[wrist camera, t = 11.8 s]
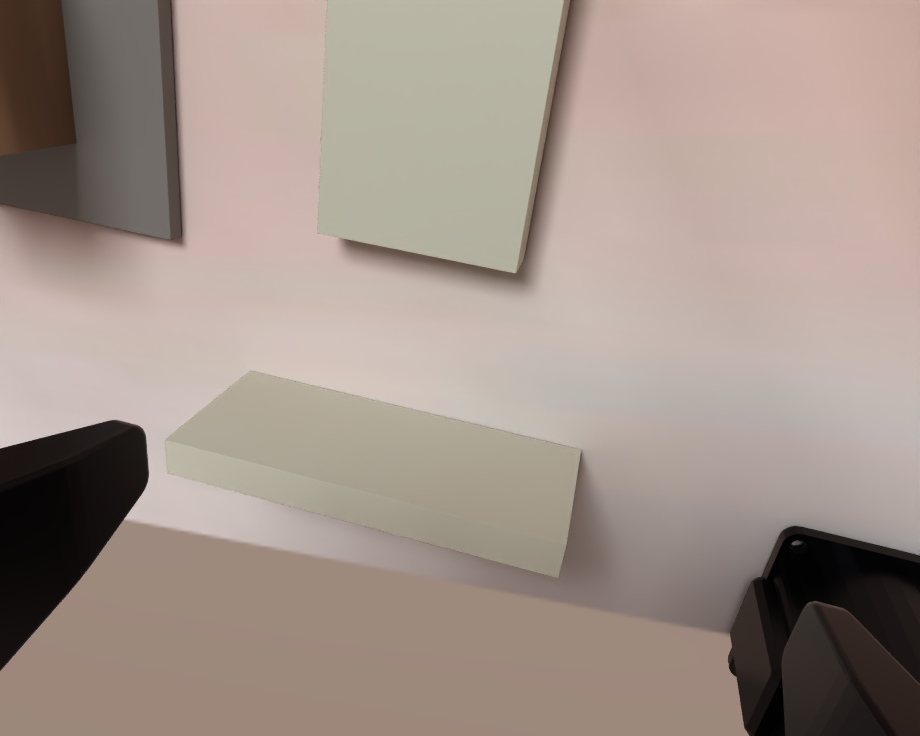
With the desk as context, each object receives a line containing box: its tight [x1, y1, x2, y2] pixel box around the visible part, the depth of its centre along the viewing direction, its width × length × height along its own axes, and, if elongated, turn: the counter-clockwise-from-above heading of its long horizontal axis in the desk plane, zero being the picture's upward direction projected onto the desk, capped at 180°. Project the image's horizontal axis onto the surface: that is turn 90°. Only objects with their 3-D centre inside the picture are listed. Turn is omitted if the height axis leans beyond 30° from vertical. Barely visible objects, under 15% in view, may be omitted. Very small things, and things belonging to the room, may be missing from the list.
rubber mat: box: [0, 0, 181, 240], centre depth 21 cm, size 11×11×1 cm
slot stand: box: [165, 0, 581, 578], centre depth 17 cm, size 12×22×5 cm, turn 172°
